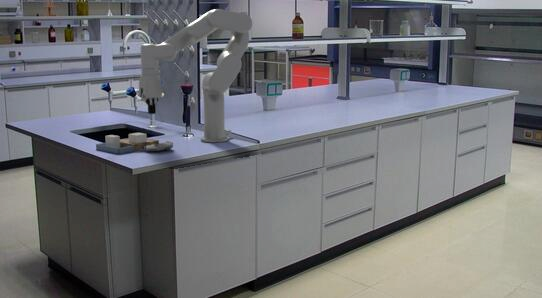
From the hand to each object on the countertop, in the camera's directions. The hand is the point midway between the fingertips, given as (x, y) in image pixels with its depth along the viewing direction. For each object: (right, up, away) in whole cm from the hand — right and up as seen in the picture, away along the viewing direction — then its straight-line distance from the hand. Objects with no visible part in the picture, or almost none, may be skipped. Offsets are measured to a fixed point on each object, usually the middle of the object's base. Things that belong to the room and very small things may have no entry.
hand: (151, 113), depth 263 cm
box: (-14, -17, -9) cm, 23 cm away
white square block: (-5, -13, -4) cm, 14 cm away
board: (-7, -15, 0) cm, 17 cm away
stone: (+9, -17, -10) cm, 22 cm away
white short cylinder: (-15, -13, -5) cm, 20 cm away
